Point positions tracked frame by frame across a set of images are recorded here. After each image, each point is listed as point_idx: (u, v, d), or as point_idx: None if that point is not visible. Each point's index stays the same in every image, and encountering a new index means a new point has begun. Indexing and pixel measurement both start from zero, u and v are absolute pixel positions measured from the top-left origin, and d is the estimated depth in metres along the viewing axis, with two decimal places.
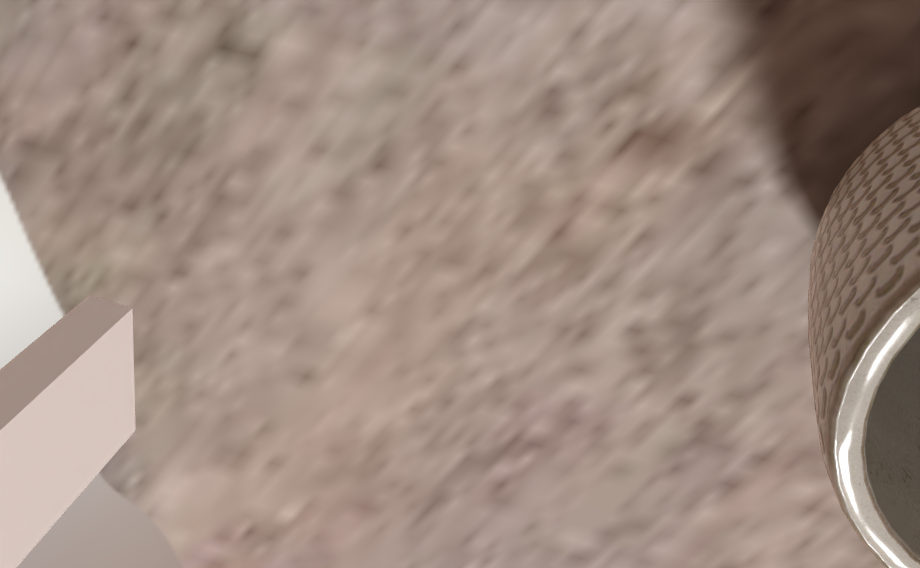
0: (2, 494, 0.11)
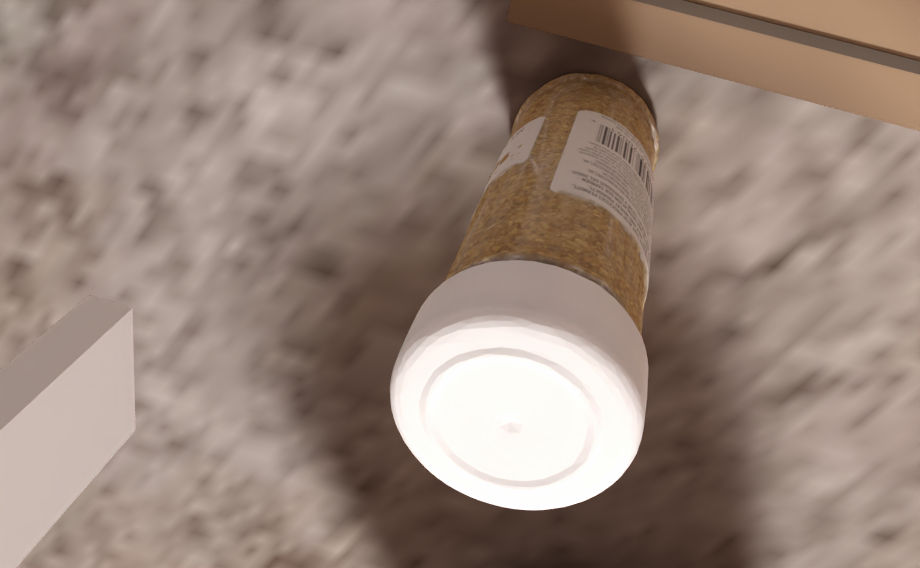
0: (2, 494, 0.11)
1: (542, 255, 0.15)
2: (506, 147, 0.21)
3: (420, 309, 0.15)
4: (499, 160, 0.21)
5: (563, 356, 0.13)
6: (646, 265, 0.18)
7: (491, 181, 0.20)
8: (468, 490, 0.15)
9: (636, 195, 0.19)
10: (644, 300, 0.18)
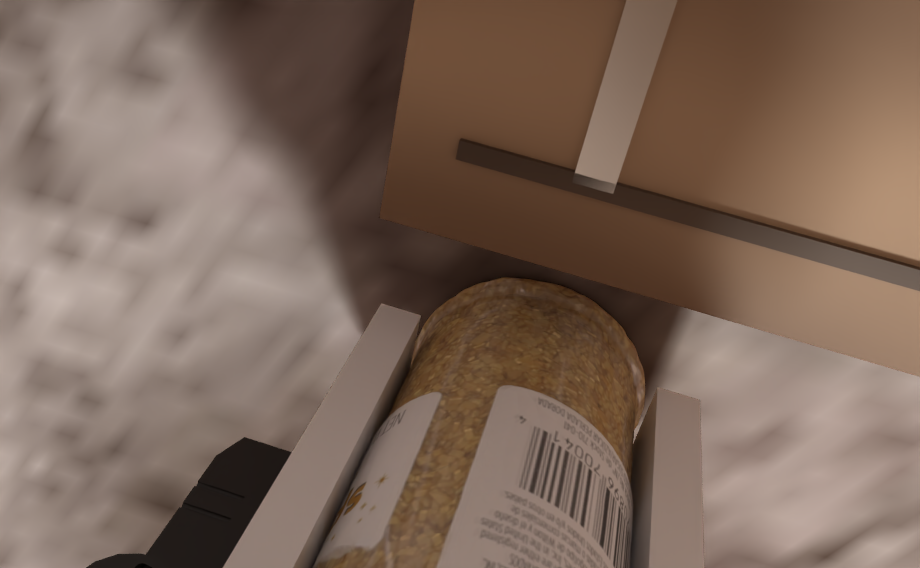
0: None
1: None
2: (372, 449, 0.12)
3: None
4: (353, 485, 0.12)
5: None
6: None
7: (322, 559, 0.11)
8: None
9: None
10: None
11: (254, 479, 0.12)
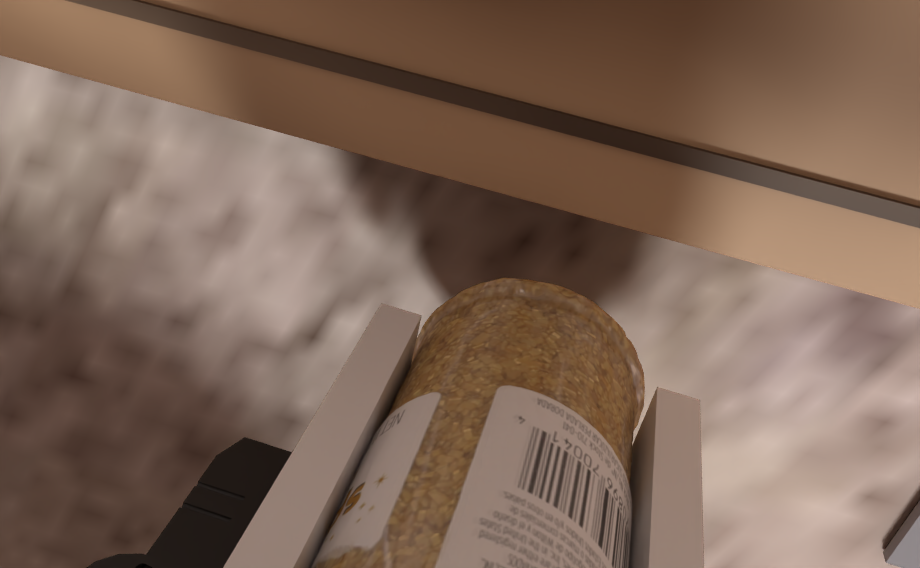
0: None
1: None
2: (371, 449, 0.12)
3: None
4: (352, 485, 0.12)
5: None
6: None
7: (320, 559, 0.11)
8: None
9: None
10: None
11: (254, 479, 0.12)
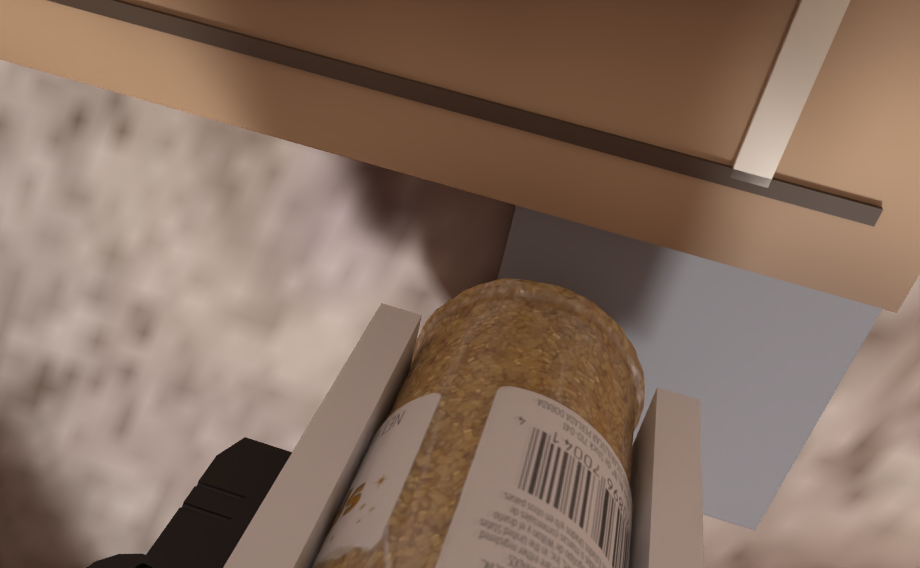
0: None
1: None
2: (371, 450, 0.12)
3: None
4: (352, 486, 0.12)
5: None
6: None
7: (321, 560, 0.11)
8: None
9: None
10: None
11: (254, 479, 0.12)
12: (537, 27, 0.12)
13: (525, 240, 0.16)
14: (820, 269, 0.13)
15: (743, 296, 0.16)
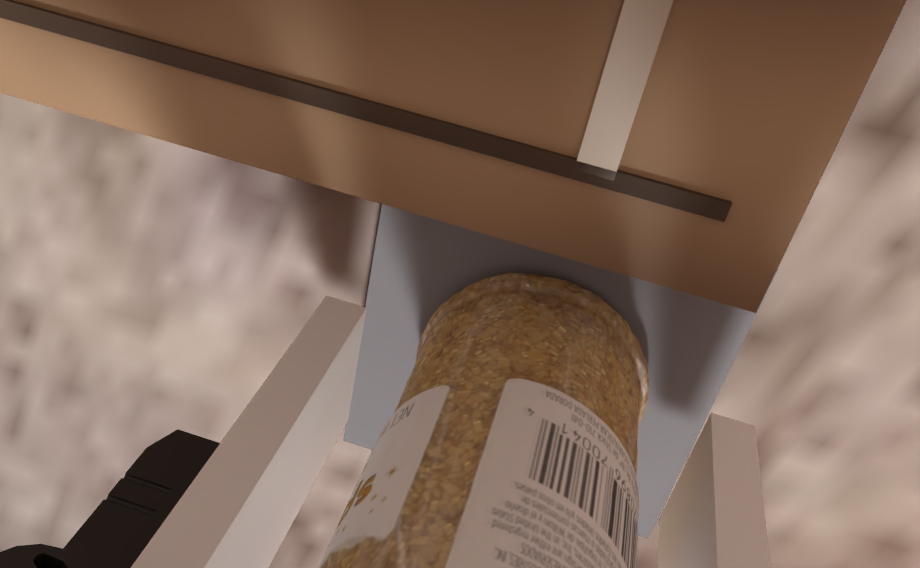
0: (288, 474, 0.12)
1: None
2: (380, 442, 0.12)
3: None
4: (363, 477, 0.12)
5: None
6: None
7: (333, 550, 0.11)
8: None
9: None
10: None
11: (183, 471, 0.12)
12: (366, 9, 0.12)
13: (395, 236, 0.16)
14: (675, 267, 0.13)
15: (617, 295, 0.15)
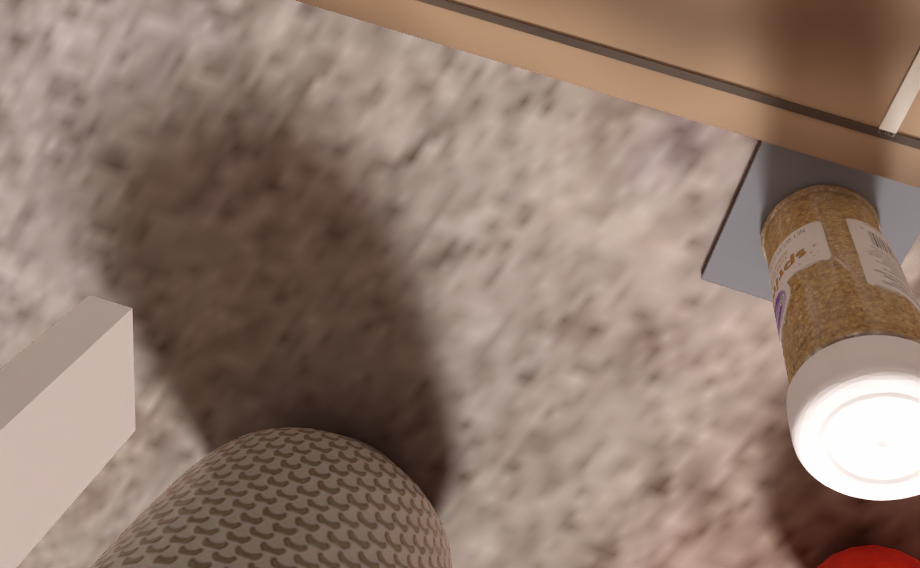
0: (2, 494, 0.11)
1: (895, 332, 0.23)
2: (792, 243, 0.30)
3: (809, 364, 0.23)
4: (791, 253, 0.29)
5: None
6: None
7: (797, 270, 0.28)
8: (836, 485, 0.23)
9: None
10: None
11: None
12: (798, 65, 0.29)
13: (760, 167, 0.33)
14: (913, 175, 0.30)
15: (869, 196, 0.32)
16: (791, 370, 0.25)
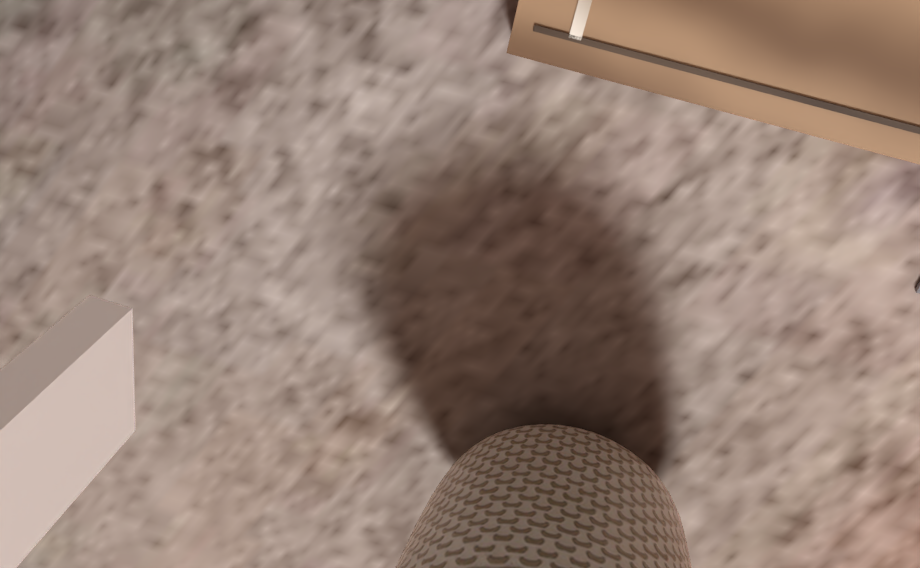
0: (2, 494, 0.11)
1: None
2: None
3: None
4: None
5: None
6: None
7: None
8: None
9: None
10: None
11: None
12: None
13: None
14: None
15: None
16: None
